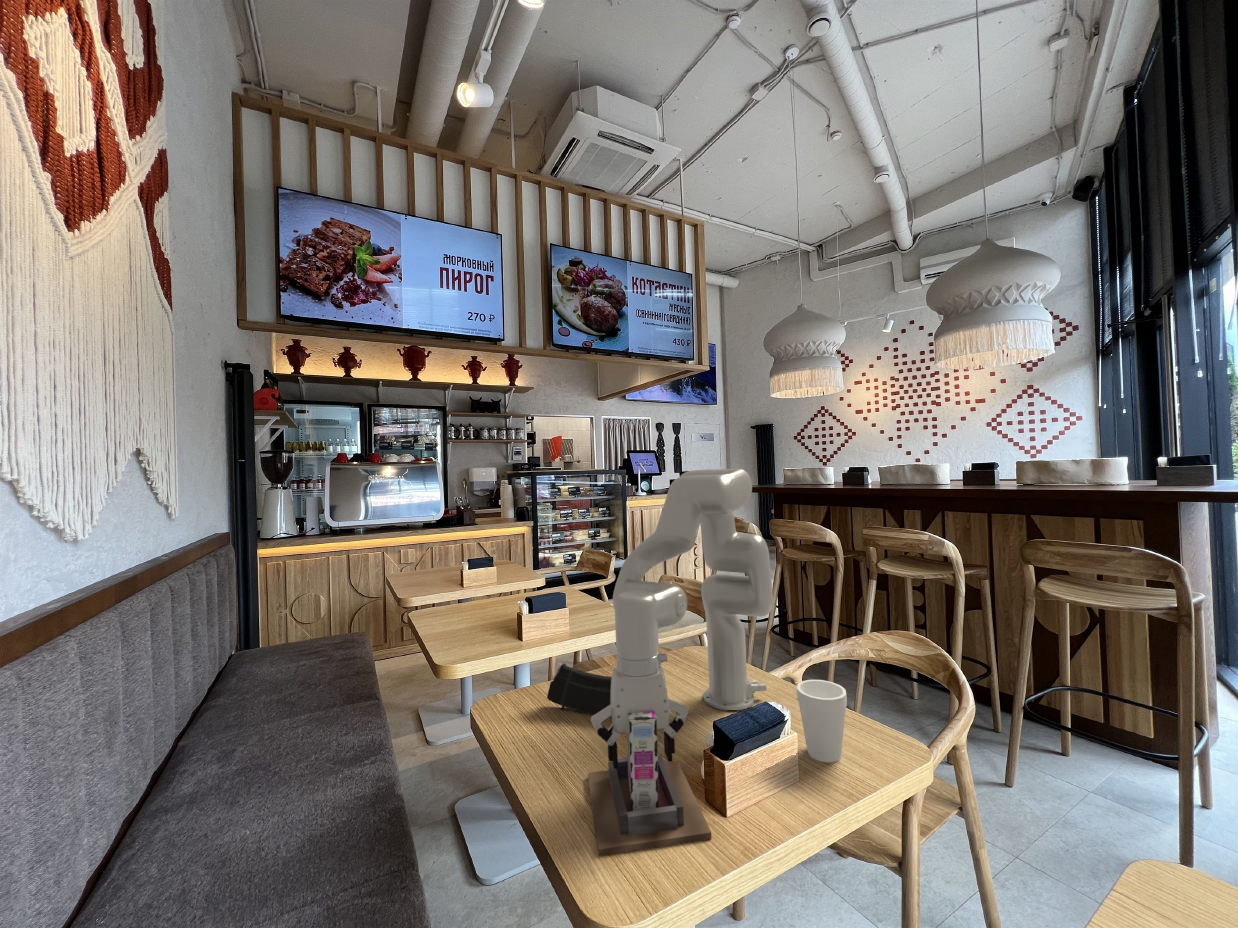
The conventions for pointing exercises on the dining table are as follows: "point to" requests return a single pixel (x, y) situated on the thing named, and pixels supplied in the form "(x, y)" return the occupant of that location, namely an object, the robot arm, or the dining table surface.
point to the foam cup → (822, 718)
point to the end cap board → (644, 811)
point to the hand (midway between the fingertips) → (641, 760)
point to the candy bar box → (642, 761)
